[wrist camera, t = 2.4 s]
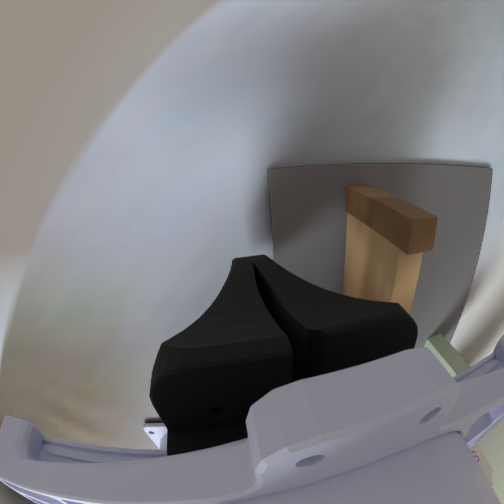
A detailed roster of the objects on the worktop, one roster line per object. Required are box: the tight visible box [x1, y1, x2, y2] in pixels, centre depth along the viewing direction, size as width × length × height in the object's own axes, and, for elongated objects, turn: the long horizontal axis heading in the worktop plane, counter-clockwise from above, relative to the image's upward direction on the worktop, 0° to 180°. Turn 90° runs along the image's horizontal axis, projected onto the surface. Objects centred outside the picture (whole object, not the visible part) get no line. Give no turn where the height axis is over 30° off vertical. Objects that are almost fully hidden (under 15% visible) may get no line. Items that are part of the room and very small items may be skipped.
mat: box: [268, 163, 493, 348], centre depth 16 cm, size 16×16×1 cm
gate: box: [342, 184, 438, 314], centre depth 12 cm, size 10×1×5 cm, turn 5°
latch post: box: [424, 333, 470, 377], centre depth 16 cm, size 2×2×6 cm
